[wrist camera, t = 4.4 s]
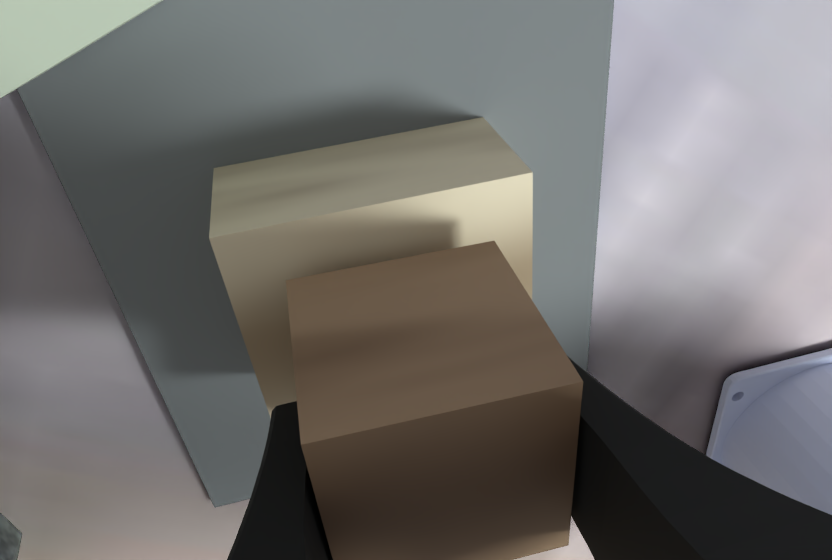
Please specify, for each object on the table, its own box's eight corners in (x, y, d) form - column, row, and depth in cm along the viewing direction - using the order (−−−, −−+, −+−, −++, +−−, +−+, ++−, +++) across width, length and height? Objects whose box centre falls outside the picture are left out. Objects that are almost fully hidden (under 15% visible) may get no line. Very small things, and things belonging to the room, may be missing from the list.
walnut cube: (496, 390, 16) (568, 545, 13) (321, 428, 16) (344, 603, 12) (494, 240, 14) (582, 381, 10) (285, 280, 13) (301, 445, 10)
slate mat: (580, 407, 25) (583, 412, 24) (214, 500, 23) (214, 507, 23) (618, -152, 14) (624, -152, 14) (-47, -60, 13) (-53, -59, 12)
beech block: (491, 322, 21) (531, 397, 18) (277, 372, 20) (284, 459, 17) (483, 117, 17) (532, 172, 14) (213, 168, 16) (208, 237, 13)
